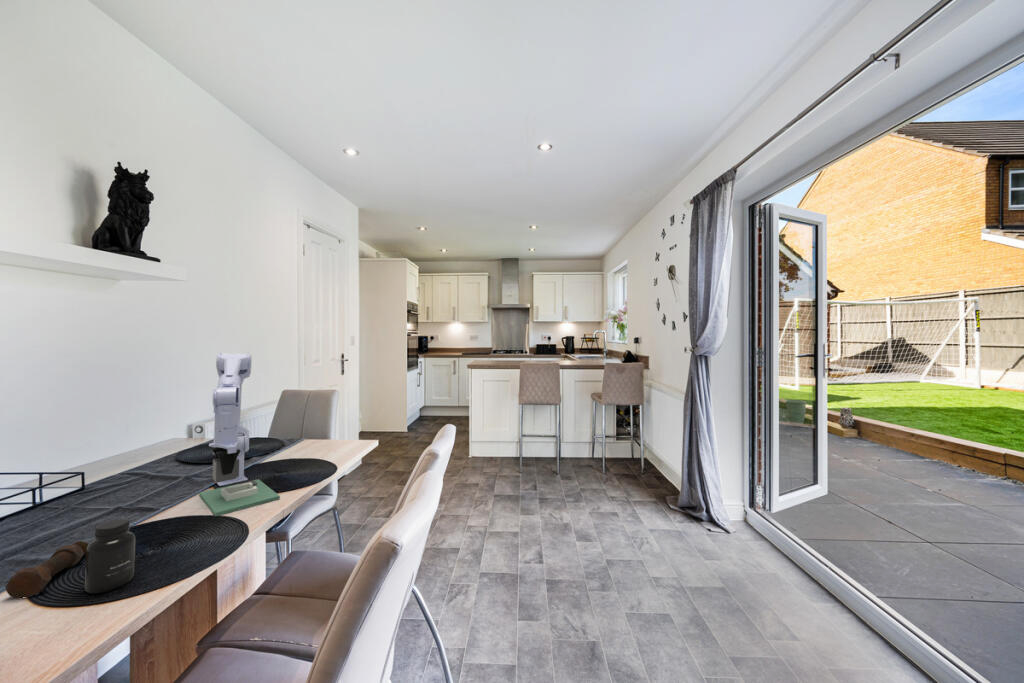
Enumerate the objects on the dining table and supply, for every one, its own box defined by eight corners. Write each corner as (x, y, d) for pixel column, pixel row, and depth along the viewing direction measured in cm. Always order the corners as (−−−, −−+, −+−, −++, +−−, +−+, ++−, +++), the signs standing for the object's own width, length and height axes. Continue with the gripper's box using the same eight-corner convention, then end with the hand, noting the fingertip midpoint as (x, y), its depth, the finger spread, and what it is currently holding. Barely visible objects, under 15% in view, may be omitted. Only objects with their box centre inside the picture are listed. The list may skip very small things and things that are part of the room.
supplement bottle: (119, 591, 74) (121, 530, 74) (74, 597, 72) (76, 534, 72) (142, 571, 81) (143, 514, 81) (101, 575, 79) (102, 518, 79)
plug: (212, 479, 114) (213, 459, 114) (236, 474, 119) (236, 455, 119) (215, 482, 112) (216, 462, 112) (240, 477, 116) (240, 458, 116)
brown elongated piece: (85, 563, 86) (29, 604, 72) (59, 555, 85) (-3, 596, 71) (103, 538, 87) (51, 574, 73) (78, 530, 86) (20, 565, 72)
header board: (199, 495, 119) (199, 486, 119) (258, 482, 131) (258, 473, 131) (215, 516, 106) (215, 506, 106) (279, 499, 118) (279, 490, 118)
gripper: (204, 424, 117) (203, 469, 117) (215, 433, 107) (214, 481, 107) (232, 421, 122) (231, 463, 122) (245, 429, 112) (244, 475, 113)
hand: (225, 472), depth 115 cm, fingers closed on plug, 4 cm apart
